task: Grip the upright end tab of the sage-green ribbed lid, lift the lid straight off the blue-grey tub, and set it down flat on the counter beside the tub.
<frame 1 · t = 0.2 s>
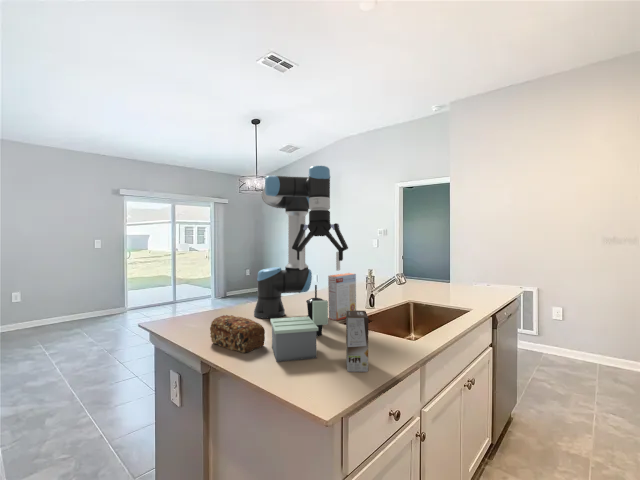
hand: (319, 269, 117), 27 cm above the worktop, tool pointing down, fingers open, 13 cm apart
bread: (237, 345, 119), on the worktop
coffee box: (356, 366, 100), on the worktop
cracker box: (342, 317, 158), on the worktop
lid: (293, 326, 111), point 9 cm above the worktop, touching tub
drinking cup: (315, 335, 131), on the worktop
tub: (293, 352, 111), on the worktop
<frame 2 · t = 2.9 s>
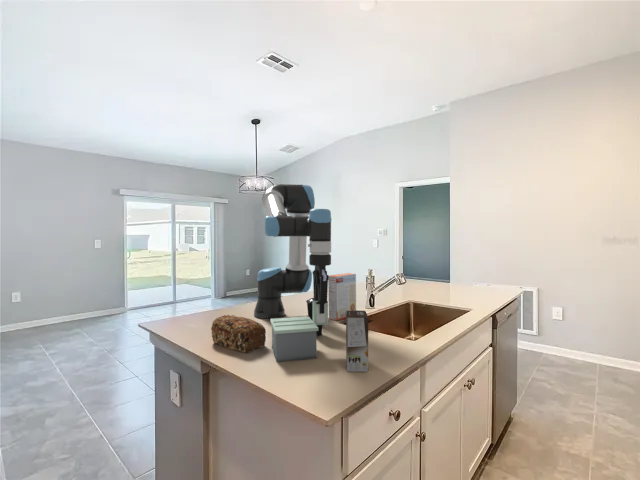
hand: (320, 321, 114), 10 cm above the worktop, tool pointing down, fingers closed on lid, 2 cm apart
lid: (293, 326, 111), point 9 cm above the worktop, touching gripper, tub
everything else where it was.
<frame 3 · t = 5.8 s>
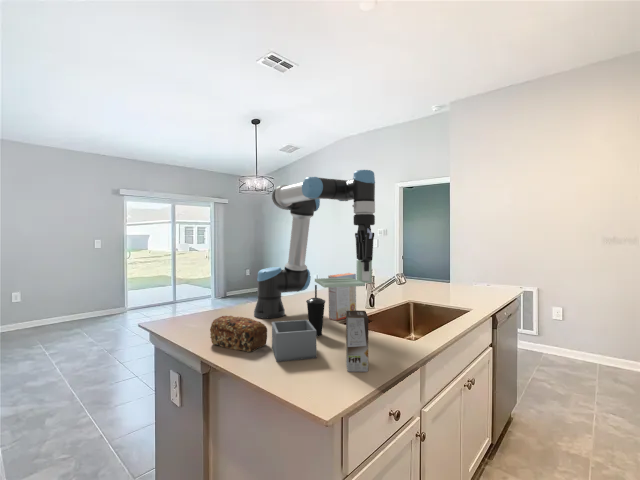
hand: (364, 279, 117), 24 cm above the worktop, tool pointing down, fingers closed on lid, 2 cm apart
lid: (338, 283, 115), point 23 cm above the worktop, touching gripper
when the fingers open (3 cm above the worktop, at t = 8.7 s): lid drops 2 cm, on the worktop.
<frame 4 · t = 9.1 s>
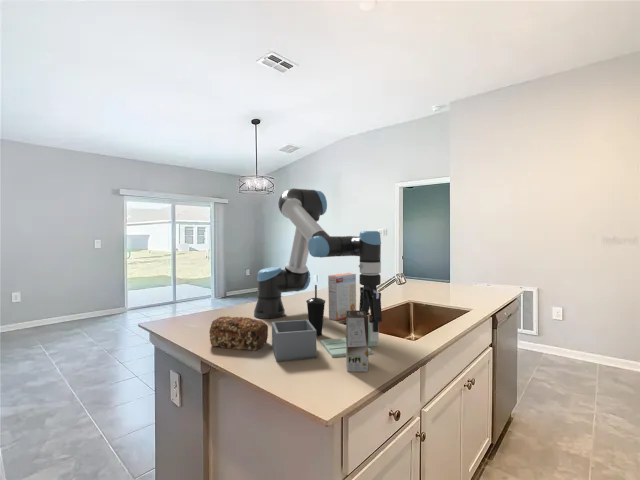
hand: (369, 336, 118), 3 cm above the worktop, tool pointing down, fingers open, 8 cm apart
lid: (344, 347, 116), on the worktop
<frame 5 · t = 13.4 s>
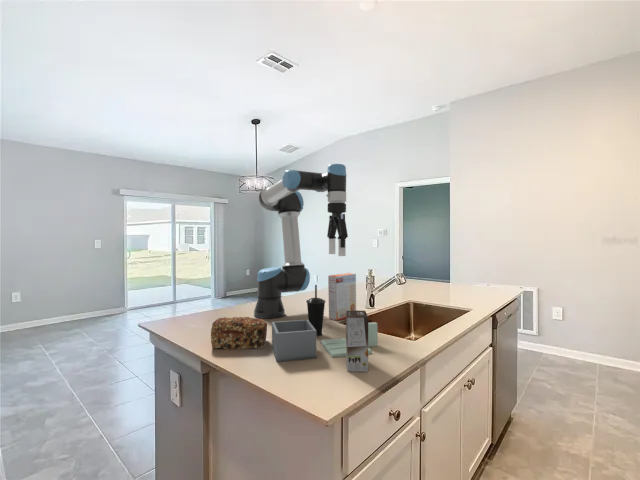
hand: (336, 255, 133), 32 cm above the worktop, tool pointing down, fingers open, 13 cm apart
at the end: lid touching worktop; lid inside the target area on the worktop beside the tub (0.1 cm from its centre), on the worktop; lid tilted 0° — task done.
